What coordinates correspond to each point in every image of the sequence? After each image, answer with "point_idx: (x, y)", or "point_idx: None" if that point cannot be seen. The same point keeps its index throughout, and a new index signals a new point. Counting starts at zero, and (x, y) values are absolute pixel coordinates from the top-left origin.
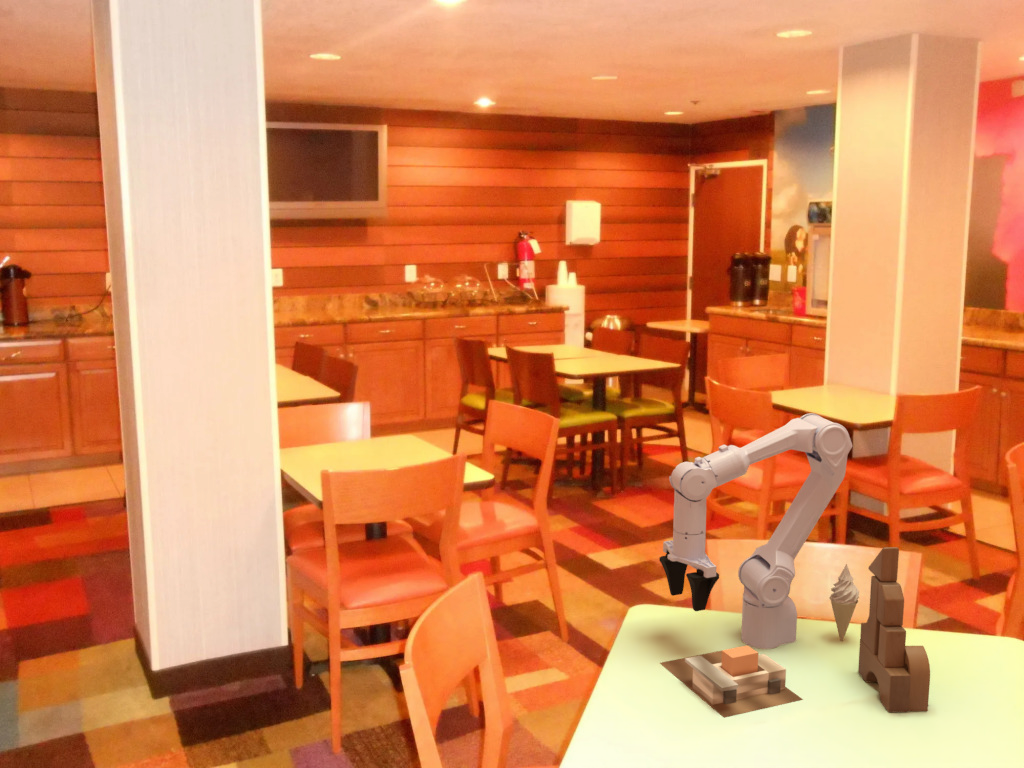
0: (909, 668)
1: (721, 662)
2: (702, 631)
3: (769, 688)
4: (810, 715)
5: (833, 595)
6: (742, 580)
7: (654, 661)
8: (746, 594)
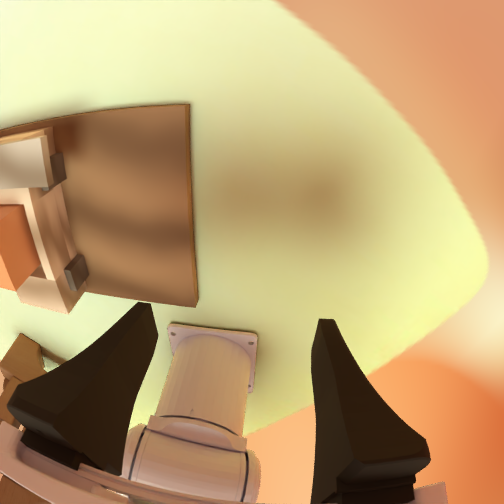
0: (4, 383)
1: (139, 250)
2: (323, 311)
3: None
4: None
5: None
6: (235, 464)
7: (233, 112)
8: (211, 435)
